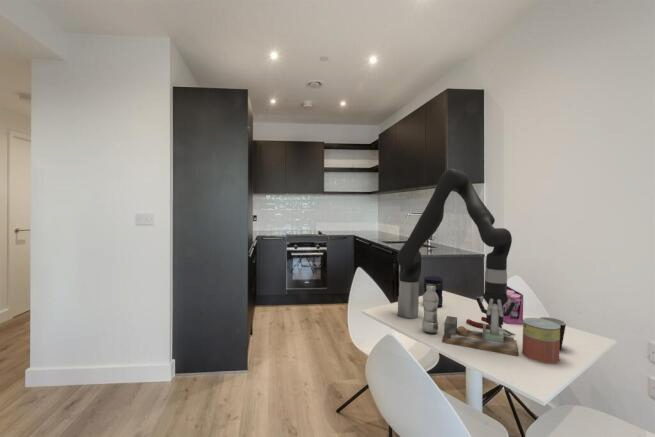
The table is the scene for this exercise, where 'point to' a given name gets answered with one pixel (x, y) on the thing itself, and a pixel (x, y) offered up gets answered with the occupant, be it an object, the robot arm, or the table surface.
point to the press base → (476, 339)
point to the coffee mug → (560, 328)
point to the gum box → (517, 310)
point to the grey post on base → (493, 326)
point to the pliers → (487, 326)
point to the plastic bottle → (430, 309)
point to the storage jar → (439, 286)
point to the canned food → (541, 340)
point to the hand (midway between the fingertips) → (494, 324)
